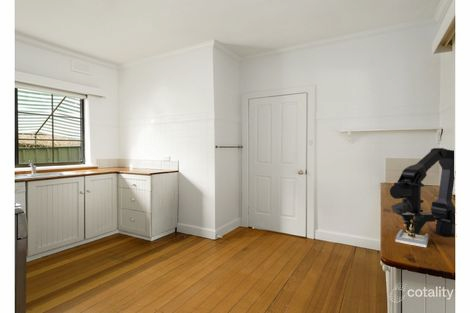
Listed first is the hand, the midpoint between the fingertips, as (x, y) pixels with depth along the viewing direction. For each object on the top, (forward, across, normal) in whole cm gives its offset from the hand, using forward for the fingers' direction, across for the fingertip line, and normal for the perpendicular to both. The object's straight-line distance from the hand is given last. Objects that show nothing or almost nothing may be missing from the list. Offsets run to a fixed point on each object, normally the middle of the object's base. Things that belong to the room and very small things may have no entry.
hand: (412, 232), depth 115 cm
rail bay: (+4, 0, 0) cm, 4 cm away
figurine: (+2, -1, 0) cm, 2 cm away
